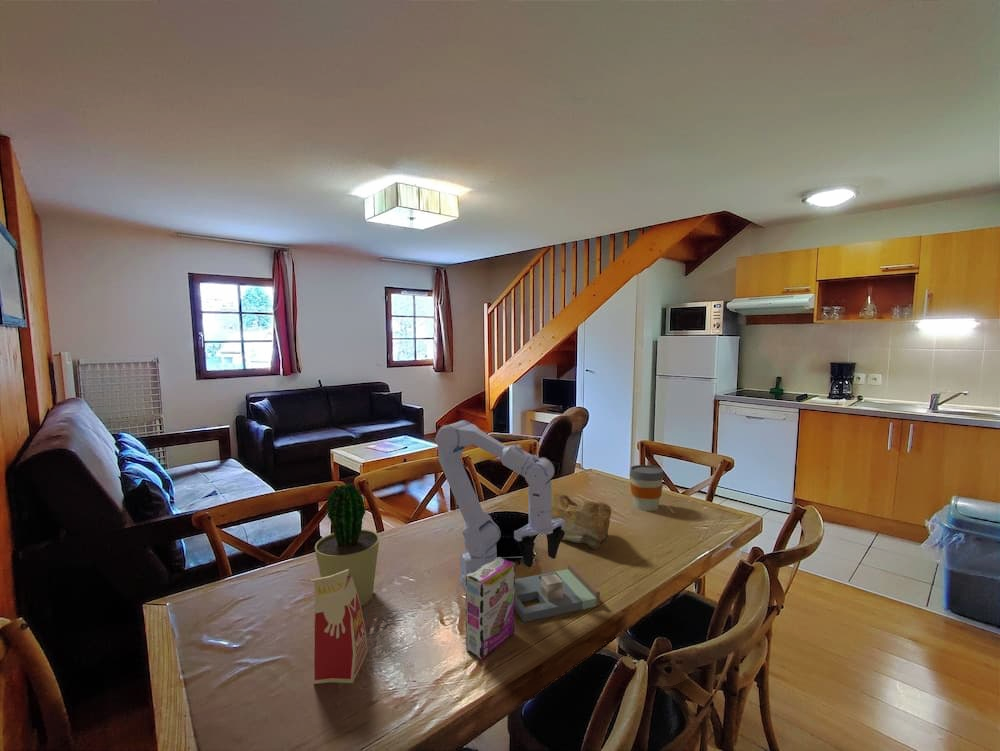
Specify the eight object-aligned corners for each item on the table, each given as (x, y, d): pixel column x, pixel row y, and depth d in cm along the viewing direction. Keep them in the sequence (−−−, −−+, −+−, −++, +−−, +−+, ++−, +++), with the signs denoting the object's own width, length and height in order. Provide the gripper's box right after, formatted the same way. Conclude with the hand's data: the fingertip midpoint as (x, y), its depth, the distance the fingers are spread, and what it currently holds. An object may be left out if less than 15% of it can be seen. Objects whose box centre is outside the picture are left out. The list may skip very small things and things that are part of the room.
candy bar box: (482, 661, 90) (481, 583, 89) (464, 651, 93) (463, 575, 92) (516, 633, 98) (515, 561, 97) (498, 624, 102) (498, 555, 100)
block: (547, 600, 107) (547, 584, 107) (541, 592, 111) (541, 576, 111) (562, 597, 109) (562, 581, 108) (555, 589, 112) (555, 573, 112)
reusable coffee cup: (623, 503, 178) (623, 466, 177) (649, 499, 182) (650, 463, 181) (641, 514, 166) (642, 475, 165) (670, 510, 170) (670, 472, 169)
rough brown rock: (633, 547, 141) (634, 500, 142) (599, 558, 131) (600, 507, 131) (577, 526, 160) (579, 485, 160) (544, 535, 150) (545, 490, 150)
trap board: (523, 622, 102) (523, 607, 102) (502, 588, 117) (502, 575, 116) (599, 605, 109) (599, 591, 108) (571, 575, 123) (571, 563, 123)
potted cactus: (377, 577, 123) (374, 470, 121) (384, 607, 109) (380, 487, 107) (317, 588, 117) (313, 477, 115) (316, 622, 103) (311, 495, 101)
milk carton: (367, 650, 94) (364, 558, 92) (355, 683, 84) (351, 581, 83) (323, 651, 93) (320, 559, 92) (306, 685, 84) (302, 583, 83)
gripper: (526, 519, 103) (526, 576, 104) (572, 507, 111) (572, 559, 112) (509, 510, 109) (509, 564, 110) (554, 499, 117) (554, 549, 118)
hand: (540, 561), depth 112 cm, fingers open, 7 cm apart
